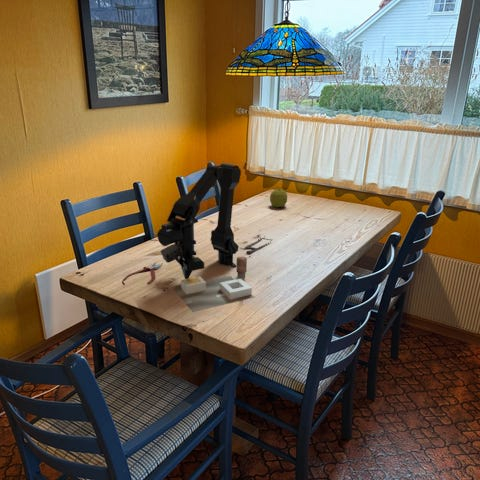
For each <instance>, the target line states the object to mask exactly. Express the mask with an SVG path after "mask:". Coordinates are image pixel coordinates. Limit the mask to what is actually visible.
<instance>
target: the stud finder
mask: <svg viewBox="0 0 480 480" xmlns="http://www.w3.org/2000/svg"><path fill="white" fill-rule="evenodd" d="M205 281H206V280H205V279H204V278H202V277H201V276H195V277H189V278H188V279H185V278H184V279H181V280H180V286H181V288H182V290H183V291H184V292H185V293H186V294H190V293H195V292H199V291H204V290H206V282H205Z"/></svg>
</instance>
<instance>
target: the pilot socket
mask: <svg viewBox="0 0 480 480" xmlns="http://www.w3.org/2000/svg"><path fill="white" fill-rule="evenodd" d="M220 290H221V291H222V292H223V293H224V294H225V295H226V296H227V297H228V298H229V299H235V298H239V297H243V296H247V295H253V292H252V291H253V287H252V286H251V285H249V284H248V283H247V282H245V281H244V279H241V278H240V279H238V278H234V280H230V281H225V282H221V283H220Z"/></svg>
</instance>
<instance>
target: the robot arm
mask: <svg viewBox="0 0 480 480" xmlns="http://www.w3.org/2000/svg"><path fill="white" fill-rule="evenodd" d="M241 174H242V170H241V168H240V166H239V165H235V164H228V163H224V162H223V163H221V164H219V165H216V164H215V165H212V164H210V165H208V166H207V167H206V169H205V171H204V173H203V174H202V175H201V176H200V177H199V179H198V180H197V182H196V183H195V184H194V185H193V187H192V188H191V189H190V191H188V193H186V194H184V195H182V196H181V197H179V198H178V199H177V200H176V201H175V202H174V204H173V205H172V208H171V210H170V213H169V215H168V217H167V220H166V222H167V223H164V224H161V227H160V228H159V230H158V231H157V234H156V236H157V240H158V243H160V245H162V246H163V247H165V248H163V249H161V250H160V254H161V256H162V258H163V260H164V261H165V262H166V264H167V263H171V262H173V261H176V262H177V263H178V264H179V265H180V267H181V271H182V274H183V275H182V276H183V277H184V279H189V278H190V276H191V274H192V272H193V271H197V270H199V271H200V270H203V269H205V261H203V260H202V259H201V258H200V257H198V256H196V255H197V251H196V250H195V245H196V244H197V240H196V239H195V230H194V229H195V224H196V223H198V222H199V220H198V219H197V218H196V216H197V215H198V213H199V211H200V209H201V202H202V200H203V199H204V198H205V197H206V195H207V194H208V193H209V191H210V190H211V189H212V187H213V186H214V185H215V183H216V182H218V185H219V188H220V193H219V194H220V195H219V203H218V214H217V223H216V224H217V226H216V227H215V228H214V229H212V230H211V231H210V239H209V240H210V243H211V245H212V248H213V250H214V251H217V253H218V257H217V258H218V260H217V261H218V262H217V263H218V264H220V265H222V266H226V267H231V268H235V267H236V268H237V264H236V263H234V256H233V255H236V254H237V252H239V248H240V246H239V245H238V244H237V243H236V241H235V234H234V232H233V230H232V227H231V225H232V217H233V216H232V215H233V203H234V196H235V189H236V187H237V186H238V184H239V183H240V180H241Z"/></svg>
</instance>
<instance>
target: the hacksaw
mask: <svg viewBox="0 0 480 480" xmlns="http://www.w3.org/2000/svg"><path fill="white" fill-rule="evenodd" d="M257 237H258V238H259V237H260V235H259V234H257ZM259 239H260V240H259ZM259 239H257V241H255V242H252V243H250V244H248V245H246V246H242V247H240V249H241V250H245V249H246V250H247V249H249V250H247V251H246V253H245V254H247V255H252V254H253V253H255V252H256V251H257V252H258V250H260V249H262V248H264V247H266V246H268V245H269V244H267V243H264V244H263V245H260V246H259V247H257V248H256V247H253V246H254V245H256V244H258V243H260V242H261V241H263V240H265V239H266V240H267V241H272V238H271V239H269V238H266V237H264V238H263V237H260V238H259ZM262 239H263V240H262ZM250 249H251V250H250Z"/></svg>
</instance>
